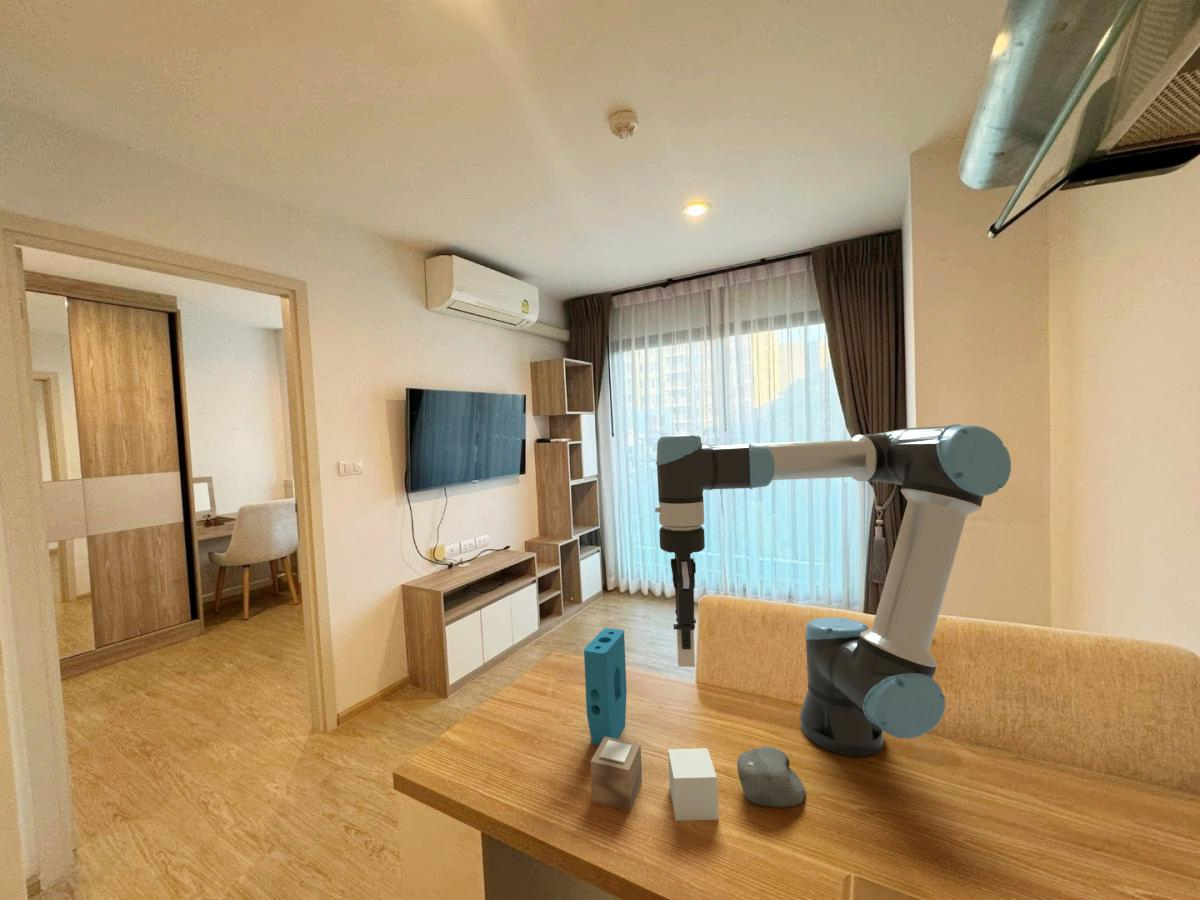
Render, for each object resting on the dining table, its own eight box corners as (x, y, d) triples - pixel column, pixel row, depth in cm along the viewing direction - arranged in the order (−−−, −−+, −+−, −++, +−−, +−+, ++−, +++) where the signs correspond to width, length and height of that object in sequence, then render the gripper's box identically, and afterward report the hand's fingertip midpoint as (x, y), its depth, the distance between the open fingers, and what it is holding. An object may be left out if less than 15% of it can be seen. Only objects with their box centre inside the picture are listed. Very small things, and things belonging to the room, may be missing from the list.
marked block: (642, 781, 82) (640, 742, 82) (630, 811, 76) (628, 768, 76) (606, 773, 85) (604, 734, 85) (592, 801, 78) (590, 759, 78)
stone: (815, 818, 73) (782, 760, 74) (764, 837, 74) (732, 780, 75) (802, 778, 81) (773, 726, 82) (757, 795, 83) (729, 745, 84)
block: (609, 753, 90) (605, 654, 90) (586, 748, 92) (582, 650, 92) (629, 719, 101) (625, 630, 101) (608, 714, 103) (604, 627, 103)
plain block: (709, 787, 80) (707, 748, 80) (718, 819, 73) (716, 777, 73) (669, 788, 80) (668, 749, 80) (675, 821, 73) (673, 778, 73)
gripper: (658, 520, 83) (662, 647, 83) (660, 534, 70) (665, 684, 70) (699, 519, 82) (704, 647, 83) (709, 533, 69) (714, 685, 70)
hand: (686, 664), depth 77 cm, fingers closed
